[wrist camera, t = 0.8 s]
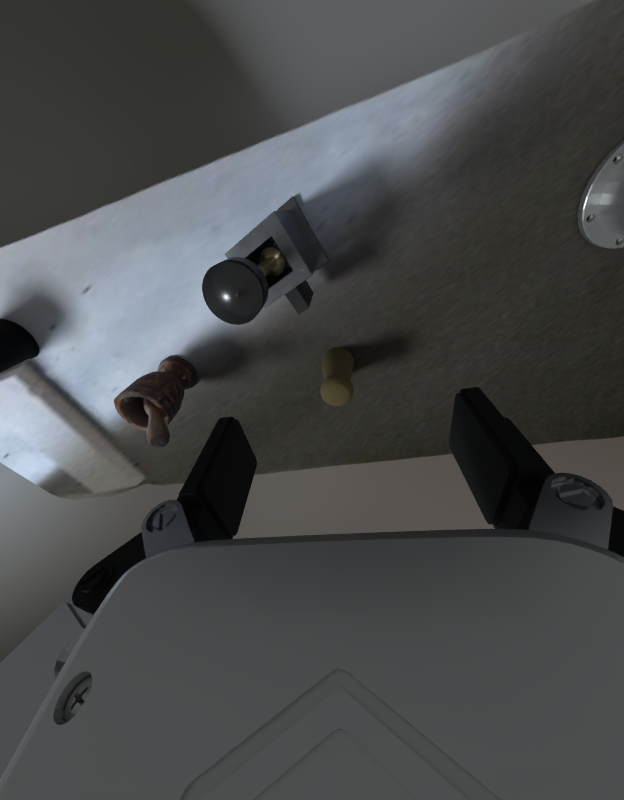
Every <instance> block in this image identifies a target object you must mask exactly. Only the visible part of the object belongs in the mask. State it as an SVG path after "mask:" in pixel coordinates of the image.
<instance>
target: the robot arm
mask: <svg viewBox="0 0 624 800" xmlns="http://www.w3.org/2000/svg"><path fill="white" fill-rule="evenodd" d="M613 159H614V160H613ZM578 226H579V229H580V233H581V234H582V236H583V237H584V239H585V240H587V241H588V242H589V243H591V244H593V245H595V246H598V247H604V248H622V247H624V140H622V141H621V142H620V143H619V144H618V145H617V146H616V147H615V148H614V149H613V150H612V151H611V152H610V153H609V154H608V155H607V157H606V158H605V159H604V160H603V161H602V163H601V164H600V165H599V166H598V168H597V169H596V171H595V172H594V174H593V175H592V177H591V178H590V180H589V182H588V184H587V186H586V188H585V190H584V192H583V195H582V198H581V201H580V204H579V210H578ZM449 445H450V449H451V451H452V453H453V455H454V457H455V459H456V461H457V463H458V465H459V467H460V469H461V471H462V473H463V475H464V477H465V479H466V481H467V483H468V485H469V487H470V489H471V491H472V493H473V495H474V497H475V500H476V501H477V504H478V506H479V508H480V510H481V512H482V514H483V516H484V518H485V520H486V521H487V523H488V524H493V526H494V528H495V529H469V530H467V529H466V530H430V531H406V532H405V531H404V532H376V533H353V534H328V535H304V536H285V537H262V538H243V539H232V538H233V536H235V535H236V534H237V532H238V528H239V525H240V522H241V518H242V515H243V511H244V508H245V504H246V501H247V497H248V494H249V490H250V487H251V483H252V480H253V476H254V473H255V470H256V466H257V461H256V458H255V455H254V453H253V451H252V449H251V447H250V445H249V442H248V440H247V438H246V436H245V434H244V432H243V429H242V427H241V425H240V423H239V421H238V420H237V419H234V417H225V418H220V419H219V420H218V422H217V423H216V425H215V427H214V429H213V431H212V433H211V435H210V437H209V439H208V440H207V442H206V444H205V446H204V448H203V450H202V452H201V454H200V455H199V457H198V459H197V461H196V463H195V465H194V467H193V469H192V471H191V472H190V474H189V476H188V478H187V480H186V482H185V484H184V486H183V488H182V489H181V491H180V493H179V497H178V499H177V500H168V501H164V502H163V503H160V504H158V505H157V506H156V507H154V508H153V509H152V510H151V511H150V512H149V513H148V514H147V516H146V517H145V518H144V520H143V523H142V526H141V527H142V528H141V533H139V534H138V535H137V536H135V537H134V538H132V539H131V540H130V541H128V542H127V543H125V544H124V545H122V546H121V547H120V548H118V549H117V550H115V551H114V552H113V553H112V554H110V555H108V556H107V557H106V558H104V559H103V560H101V561H100V562H99V563H97V564H96V565H94V566H93V567H92V568H91V569H89V570H88V571H87V572H86V573H85V574H84V576H83V577H82V578H81V579H80V581H79V582H78V584H77V585H76V587H75V589H74V592H73V595H72V600H71V601H70V602H69V603H67V602H65V601H64V602H63V603H62V604H61V605H60V606H59V607H58V608H57V609H56V610H55V611H54V612H53V613H52V614H51V615H50V616H49V617H48V618H47V619H45V620H44V621H43V622H42V623H41V624H40V625H39V626H38V627H37V628H36V629H35V630H34V631H33V632H32V633H31V634H30V635H29V636H28V637H27V638H26V639H25V640H24V641H23V642H22V643H21V644H19V646H18V647H16V648H15V649H14V650H13V651H12V652H11V653H10V654H9V655H8V656H7V657H6V658H5V659H4V660H3V661H2V662H1V663H0V800H624V511H623V510H620V509H618V508H616V507H613V503H612V499H611V498H610V496H609V495H608V493H607V492H606V491H605V490H604V489H603V488H602V487H600V486H599V485H597V484H596V483H594V482H592V481H591V480H589V479H586V478H584V477H582V476H578V475H575V474H570V473H554V472H553V470H552V469H551V468H550V467H549V466H548V464H546V462H545V461H544V460H543V458H542V457H541V456H540V455H539V454H538V452H537V451H536V450H535V449H534V448H533V447H532V445H531V444H530V443H529V442H528V441H527V439H526V438H525V437H524V436H523V435H522V433H521V432H520V431H519V430H518V429H517V428H516V426H515V425H514V424H513V423H512V422H511V421H510V420H509V419H508V418H504V417H503V416H502V415H501V414H500V412H499V411H498V410H497V409H496V408H495V406H494V405H493V404H492V403H491V401H490V400H489V399H488V398H487V397H486V395H485V394H484V393H483V392H482V391H481V389H480V388H478V387H474V388H466V389H461V391H460V393H457V394H456V396H455V403H454V410H453V417H452V424H451V432H450V439H449Z"/></svg>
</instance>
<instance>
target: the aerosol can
mask: <svg viewBox="0 0 624 800" xmlns="http://www.w3.org/2000/svg"><path fill="white" fill-rule="evenodd" d="M38 352H39V349H38V345H37V343H36V341H35V340H34V338H33V337H32V336H31V335H30V334H29V333H28V332H27V331H26V330H25V329H24V328H22V327H21V326H19V325H17V324H16V323H13V322H11V321H8V320H3V319H0V373H1V372H3V371H5V370H7V369H9V368H11V367H13V366H15V365H17V364H19V363H21V362H23V361H25V360H27V359H31V358H34V357H36V356H37V355H38Z"/></svg>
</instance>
